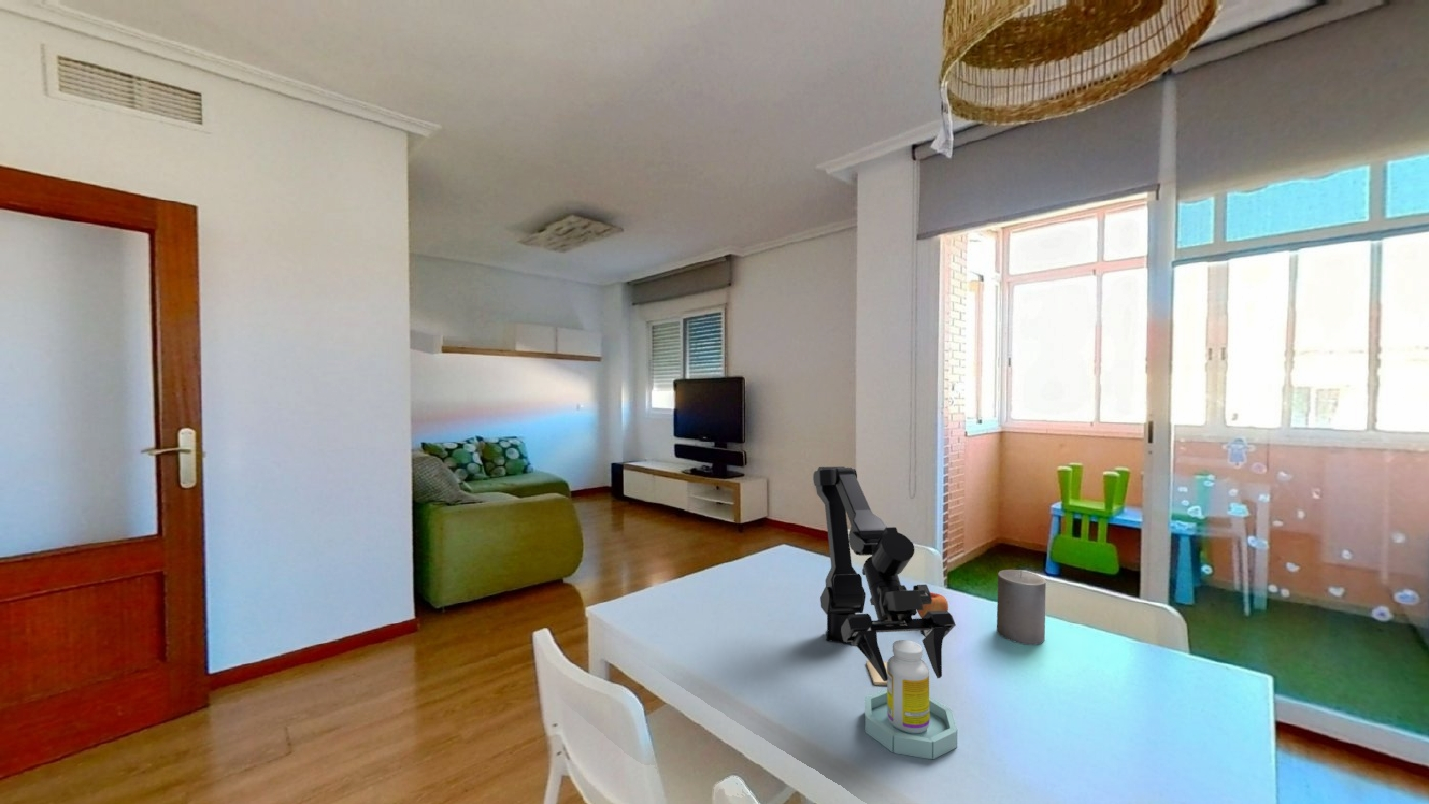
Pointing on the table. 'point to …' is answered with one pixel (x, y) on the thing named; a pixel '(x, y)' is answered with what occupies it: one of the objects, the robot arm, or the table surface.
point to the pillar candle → (1021, 606)
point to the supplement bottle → (908, 688)
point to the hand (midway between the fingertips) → (913, 678)
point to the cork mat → (876, 674)
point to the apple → (934, 605)
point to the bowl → (913, 744)
